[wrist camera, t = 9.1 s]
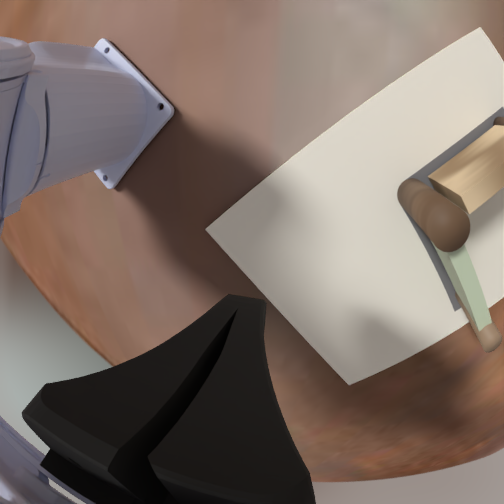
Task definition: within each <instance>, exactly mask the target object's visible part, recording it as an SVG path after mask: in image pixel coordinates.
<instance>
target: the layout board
mask: <svg viewBox="0 0 504 504" xmlns="http://www.w3.org/2000/svg"><path fill="white" fill-rule="evenodd" d="M496 117H504V62H503V60H502V58H501V57H500V55H499V53H498V52H497V50H496V49H495V47H494V46H493V44H492V43H491V41H490V40H489V38H488V37H487V36H486V34H485V33H484V31H483V30H482V29H481V27H479V28H477V29H476V30H474V31H472V32H470V33H469V34H467V35H465V36H464V37H462V38H460V39H459V40H457V41H456V42H454V43H452V44H451V45H449V46H447V47H446V48H444V49H443V50H441V51H440V52H438V53H436V54H435V55H433V56H432V57H430V58H429V59H427V60H426V61H424V62H422V63H421V64H419V65H418V66H416V67H415V68H413V69H412V70H410V71H409V72H407V73H406V74H404V75H403V76H401V77H400V78H399V79H397V80H396V81H394V82H393V83H391V84H390V85H388V86H387V87H386V88H384V89H383V90H381V91H380V92H378V93H377V94H376V95H374V96H373V97H371V98H370V99H369V100H367V101H366V102H364V103H363V104H362V105H360V106H359V107H357V108H356V109H355V110H353V111H352V112H351V113H349V114H348V115H346V116H345V117H344V118H342V119H341V120H340V121H338V122H337V123H336V124H334V125H333V126H332V127H330V128H329V129H328V130H326V131H325V132H324V133H322V134H321V135H320V136H319V137H317V138H316V139H315V140H313V141H312V142H311V143H309V144H308V145H307V146H306V147H304V148H303V149H302V150H300V151H299V152H298V153H297V154H295V155H294V156H293V157H291V158H290V159H289V160H288V161H286V162H285V163H284V164H283V165H281V166H280V167H279V168H278V169H276V170H275V171H274V172H273V173H271V174H270V175H269V176H268V177H267V178H265V179H264V180H263V181H262V182H260V183H259V184H258V185H257V186H255V187H254V188H253V189H252V190H251V191H249V192H248V193H247V194H246V195H245V196H243V197H242V198H241V199H240V200H239V201H237V202H236V203H235V204H234V205H233V206H232V207H230V208H229V209H228V210H227V211H226V212H224V213H223V214H222V215H221V216H220V217H219V218H217V219H216V220H215V221H214V222H213V223H212V224H210V225H209V226H208V227H207V228H206V229H205V230H206V231H207V232H208V233H209V234H210V235H211V236H212V238H213V239H214V240H215V241H216V242H217V243H218V244H219V245H220V247H221V248H222V249H223V250H224V251H225V252H226V253H227V254H228V255H229V257H230V258H231V259H232V260H233V261H234V262H235V263H236V264H237V265H238V267H239V268H240V269H241V270H242V271H243V272H244V273H245V274H246V275H247V277H248V278H249V279H250V280H251V281H252V282H253V283H254V284H255V285H256V286H257V288H258V289H259V290H260V291H261V292H262V293H263V294H264V295H265V296H266V297H267V298H268V300H269V301H270V302H271V303H272V304H273V305H274V306H275V307H276V308H277V309H278V310H279V312H280V313H281V314H282V315H283V316H284V317H285V318H286V319H287V320H288V321H289V322H290V323H291V324H292V326H293V327H294V328H295V329H296V330H297V331H298V332H299V333H300V334H301V335H302V336H303V337H304V338H305V340H306V341H307V342H308V343H309V344H310V345H311V346H312V347H313V348H314V349H315V350H316V351H317V352H318V353H319V354H320V355H321V357H322V358H323V359H324V360H325V361H326V362H327V363H328V364H329V365H330V366H331V367H332V368H333V369H334V370H335V371H336V372H337V373H338V374H339V376H340V377H341V378H342V379H343V380H344V381H345V382H346V383H347V384H348V385H351V384H353V383H356V382H358V381H360V380H363V379H365V378H367V377H369V376H372V375H374V374H376V373H378V372H380V371H382V370H385V369H387V368H389V367H391V366H393V365H395V364H397V363H399V362H401V361H403V360H405V359H407V358H409V357H410V356H412V355H414V354H416V353H418V352H420V351H422V350H423V349H425V348H427V347H429V346H431V345H432V344H434V343H436V342H437V341H439V340H441V339H443V338H444V337H446V336H448V335H449V334H451V333H452V332H454V331H456V330H457V329H459V328H460V327H462V326H463V325H465V324H466V323H468V322H469V320H468V319H467V317H466V315H465V313H464V311H463V310H462V308H461V306H460V304H459V303H458V301H457V299H456V297H455V292H456V291H455V289H454V286H453V284H452V282H451V280H450V278H449V276H448V273H447V271H446V269H445V267H444V265H443V263H442V261H441V259H440V257H439V255H438V253H437V251H436V249H435V247H434V245H433V244H432V242H431V240H430V239H429V237H428V236H427V235H426V234H425V232H424V231H423V230H422V229H421V228H420V226H419V225H418V224H417V223H416V222H415V221H414V219H413V218H412V217H411V216H410V215H409V214H408V213H407V212H406V210H405V209H404V208H403V207H402V206H401V205H400V203H399V201H398V198H397V191H398V188H399V186H400V184H401V183H402V182H403V181H405V180H407V179H410V178H415V179H418V180H420V181H421V182H423V183H424V184H426V185H428V186H429V187H431V188H432V189H434V187H433V185H432V183H431V181H430V180H429V178H428V176H429V175H430V174H432V173H433V172H434V171H436V170H437V169H438V168H440V167H441V166H442V165H444V164H445V163H447V162H448V161H449V160H450V159H452V158H453V157H454V156H456V155H457V154H458V153H460V152H461V151H462V150H464V149H465V148H466V147H468V146H469V145H470V144H471V143H473V142H474V141H475V140H477V139H478V138H479V137H480V136H482V135H483V134H484V133H486V132H487V131H488V130H489V129H491V128H492V127H493V122H494V120H495V118H496ZM434 190H435V189H434ZM435 191H436V190H435ZM438 193H439V192H438ZM442 196H443V195H442ZM445 198H446V197H445ZM448 200H449V199H448ZM451 202H452V201H451ZM452 203H453V202H452ZM455 205H456V204H455ZM458 207H459V206H458ZM459 208H460V207H459ZM462 210H463V209H462ZM463 211H464V210H463ZM465 213H466V214H467V215H468V217H469V220H470V233H469V236H468V239H467V241H466V242H465V243H464V245H465V247H466V249H467V252H468V254H469V256H470V259H471V261H472V264H473V266H474V269H475V272H476V274H477V277H478V280H479V283H480V285H481V288H482V291H483V294H484V297H485V300H486V304H487V307H488V308H490V307H491V306H492V305H494V304H495V303H496V302H498V301H499V300H500V299H502V298H503V297H504V187H503V188H502V189H500V190H499V191H498V192H497V193H496V194H494V195H493V196H492V197H491V198H490V199H488V200H487V201H486V202H485V203H483V204H482V205H481V206H480V207H478V208H477V209H476V210H474V211H473V212H472V213H471V214H468V213H467V212H465Z"/></svg>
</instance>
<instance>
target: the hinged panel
mask: <svg viewBox="0 0 504 504" xmlns="http://www.w3.org/2000/svg"><path fill="white" fill-rule="evenodd" d="M431 242H432V241H431ZM432 244H433V242H432ZM433 245H434V244H433ZM434 247H435V249H436V251H437V253H438V255H439V257H440V259H441V261H442V263H443V265H444V267H445V269H446V271H447V273H448V276H449V278H450V280H451V282H452V284H453V286H454V289H455V291H456V292H455V297H456V299H457V301H458V303H459V304H460V306H461V308H462V310H463V311H464V313H465V315H466V317H467V319H468V320H469V322H470V324H471V326H472V328H473V330H474V332H475V334H476V335H477V337H478V339H479V341H480V343H481V345H482V347H483V350H484V351H485V352H492V351H494V350H495V349H496V348H497V347H498V346H499V345H500V344H501V342H502V335H501V334H500V332H499V330H498V329H497V327H496V325H495V324H494V322H493V320H492V319H491V317H490V314H489V310H488V307H487V304H486V300H485V297H484V294H483V291H482V288H481V285H480V283H479V280H478V277H477V274H476V272H475V269H474V266H473V264H472V261H471V259H470V256H469V254H468V252H467V249H466V247H465V245H463V246H462V247H461V248H459V249H458V250H456V251H453V252H443V251H441V250H439V249H438V248H437V247H436V246H435V245H434Z"/></svg>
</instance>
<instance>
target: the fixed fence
mask: <svg viewBox="0 0 504 504" xmlns="http://www.w3.org/2000/svg"><path fill="white" fill-rule="evenodd" d="M428 178H429V180H430V181H431V183H432V185H433V187H434V189H435V190H436V191H435V190H434V189H432V188H431V187H429V186H428V185H426V184H424V183H423V182H421V181H420V180H418V179H415V178H410V179H407V180H405V181H403V182H402V183H401V184H400V186H399V188H398V191H397V198H398V201H399V203H400V205H401V206H402V207H403V208H404V209H405V210H406V212H407V213H408V214H409V215H410V216H411V217H412V218H413V219H414V221H415V222H416V223H417V224H418V225H419V226H420V228H421V229H422V230H423V231H424V232H425V234H426V235H427V236H428V237H429V239H430V240H431V241H432V242H433V244H434V245H435V246H436V247H437V248H438V249H439V250H441V251H443V252H453V251H456V250H458V249H459V248H461V247H462V246H463V245H464V243H465V242H466V241H467V239H468V236H469V233H470V220H469V217H468V215H467V214H466V213H465V212H467V213H468V214H471V213H472V212H473V211H474V210H476V209H477V208H478V207H480V206H481V205H482V204H483V203H485V202H486V201H487V200H488V199H490V198H491V197H492V196H493V195H494V194H496V193H497V192H498V191H499V190H500V189H502V188H503V187H504V117H496V118H495V120H494V122H493V127H492V128H491V129H489V130H488V131H487V132H486V133H484V134H483V135H482V136H480V137H479V138H478V139H477V140H475V141H474V142H473V143H471V144H470V145H469V146H468V147H466V148H465V149H464V150H462V151H461V152H460V153H458V154H457V155H456V156H454V157H453V158H452V159H450V160H449V161H448V162H447V163H445V164H444V165H442V166H441V167H440V168H438V169H437V170H436V171H434V172H433V173H432V174H430V175H429V176H428ZM438 192H439V193H438ZM442 195H443V196H442ZM445 197H446V198H445ZM448 199H449V200H448ZM451 201H452V202H453V203H452V202H451ZM455 204H456V205H455ZM458 206H459V207H460V208H459V207H458ZM462 209H463V210H464V211H463V210H462Z"/></svg>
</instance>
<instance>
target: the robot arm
mask: <svg viewBox="0 0 504 504" xmlns="http://www.w3.org/2000/svg"><path fill="white" fill-rule="evenodd" d="M109 49H110V50H109ZM108 50H109V52H108ZM162 103H163V105H164V108H163V110H161V109H160V105H161V104H162ZM173 115H174V108H173V106H172V105H171V104H170V103H169V102H168V101H167V100H166V99H165V98H164V97H163V95H162V94H161V93H160V92H159V91H158V90H157V89H156V88H155V87H154V86H153V85H152V84H151V83H150V82H149V81H148V80H147V79H146V78H145V77H144V76H143V75H142V74H141V73H140V72H139V71H138V70H137V68H136V67H135V66H134V65H133V64H132V63H131V62H130V61H129V60H128V59H127V58H126V57H125V56H124V55H123V54H122V53H121V52H120V51H119V50H118V49H117V48H116V47H115V46H114V45H113V44H112V43H111V42H110V41H109V40H107V39H104V38H103V39H100V40H99V41H98V43H97V44H96V45H95V47H94V48H93V47H87V46H80V45H73V44H65V43H55V42H44V41H39V42H32V43H29V44H28V43H26V42H24V41H22V40H18V39H14V38H8V37H0V236H1V234H2V230H3V226H4V218H5V217H7V216H9V215H11V214H13V213H15V212H17V211H19V210H20V206H21V202H22V200H23V198H24V197H26V196H29V195H31V194H33V193H36V192H38V191H40V190H43V189H45V188H48V187H50V186H53V185H56V184H58V183H61V182H64V181H66V180H69V179H72V178H75V177H77V176H80V175H83V174H86V173H89V172H92V171H94V172H95V173H96V175H97V176H98V177H99V178H100V180H101V181H102V182H103V184H104V185H105V186H106V187H107V188H108V189H112V188H114V187H116V185H117V184H118V182H119V181H120V180H121V178H122V177H123V176H124V174H125V173H126V172H127V170H128V169H129V168H130V166H131V165H132V164H133V163H134V161H135V160H136V159H137V157H138V156H139V155H140V154H141V152H142V151H143V150H144V149H145V148H146V146H147V145H148V144H149V143H150V142H151V140H152V139H153V138H154V137H155V136H156V134H157V133H158V132H159V131H160V130H161V129H162V128H163V126H164V125H165V124H166V123H167V122H168V121H169V120H170V119H171V117H172V116H173ZM106 175H107V177H108V180H107V179H106ZM265 315H266V302H265V301H264V300H261V299H255V298H248V297H242V296H236V295H231V294H228V295H227V296H226V297H224V298H223V299H222V300H221V301H219V302H218V303H217V304H216V305H215V306H213V307H212V308H211V309H210V310H209V311H207V312H206V313H205V314H204V315H202V316H201V317H200V318H198V319H197V320H196V321H194V322H193V323H192V324H190V325H189V326H188V327H186V328H185V329H184V330H182V331H181V332H179V333H178V334H176V335H175V336H173V337H172V338H170V339H169V340H167V341H165V342H164V343H162V344H160V345H159V346H157V347H155V348H153V349H152V350H150V351H148V352H146V353H144V354H142V355H140V356H138V357H135V358H133V359H131V360H128V361H126V362H124V363H121V364H119V365H117V366H114V367H111V368H109V369H106V370H103V371H100V372H97V373H93V374H90V375H87V376H83V377H79V378H74V379H70V380H64V381H59V382H54V383H47V384H45V385H44V386H43V387H42V389H41V390H40V391H39V392H38V393H37V395H36V396H35V397H34V398H33V399H32V401H31V402H30V403H29V404H28V405H27V407H26V408H25V409H24V410H23V412H22V417H23V419H24V421H25V422H26V423H27V425H28V426H29V427H30V428H31V429H32V430H33V431H34V432H35V433H36V435H38V437H40V439H41V440H42V441H43V442H44V443H45V444H46V445H47V446H48V447H49V448H50V450H49V452H48V453H47V455H46V456H45V455H44V454H43V453H41V452H40V451H39V450H37V448H35V447H34V446H33V445H32V444H30V443H29V442H28V441H27V440H26V439H24V438H23V437H22V436H21V435H20V434H19V433H18V432H17V431H16V430H14V429H13V428H12V427H11V426H10V425H9V424H8V423H7V422H6V421H5V420H4V419H3V418H2V417H1V416H0V504H77V503H75V502H74V501H72V500H71V499H69V498H68V497H66V496H64V495H63V494H61V493H60V492H58V491H57V490H56V489H54V488H53V487H51V486H50V485H49V479H48V478H50V479H51V480H53V481H54V482H55V483H56V484H58V485H59V486H61V487H62V488H64V489H65V490H66V491H68V492H69V493H71V494H72V495H74V496H75V497H77V498H78V499H80V500H81V501H83V502H85V503H86V504H316V502H315V495H314V490H313V486H312V482H311V477H310V473H309V471H308V469H307V467H306V465H305V464H304V462H303V460H302V458H301V456H300V454H299V452H298V450H297V448H296V446H295V444H294V442H293V440H292V437H291V435H290V433H289V431H288V428H287V426H286V423H285V421H284V418H283V415H282V413H281V410H280V407H279V405H278V402H277V398H276V395H275V392H274V389H273V385H272V381H271V377H270V373H269V369H268V364H267V358H266V352H265V345H264V326H265Z"/></svg>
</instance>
